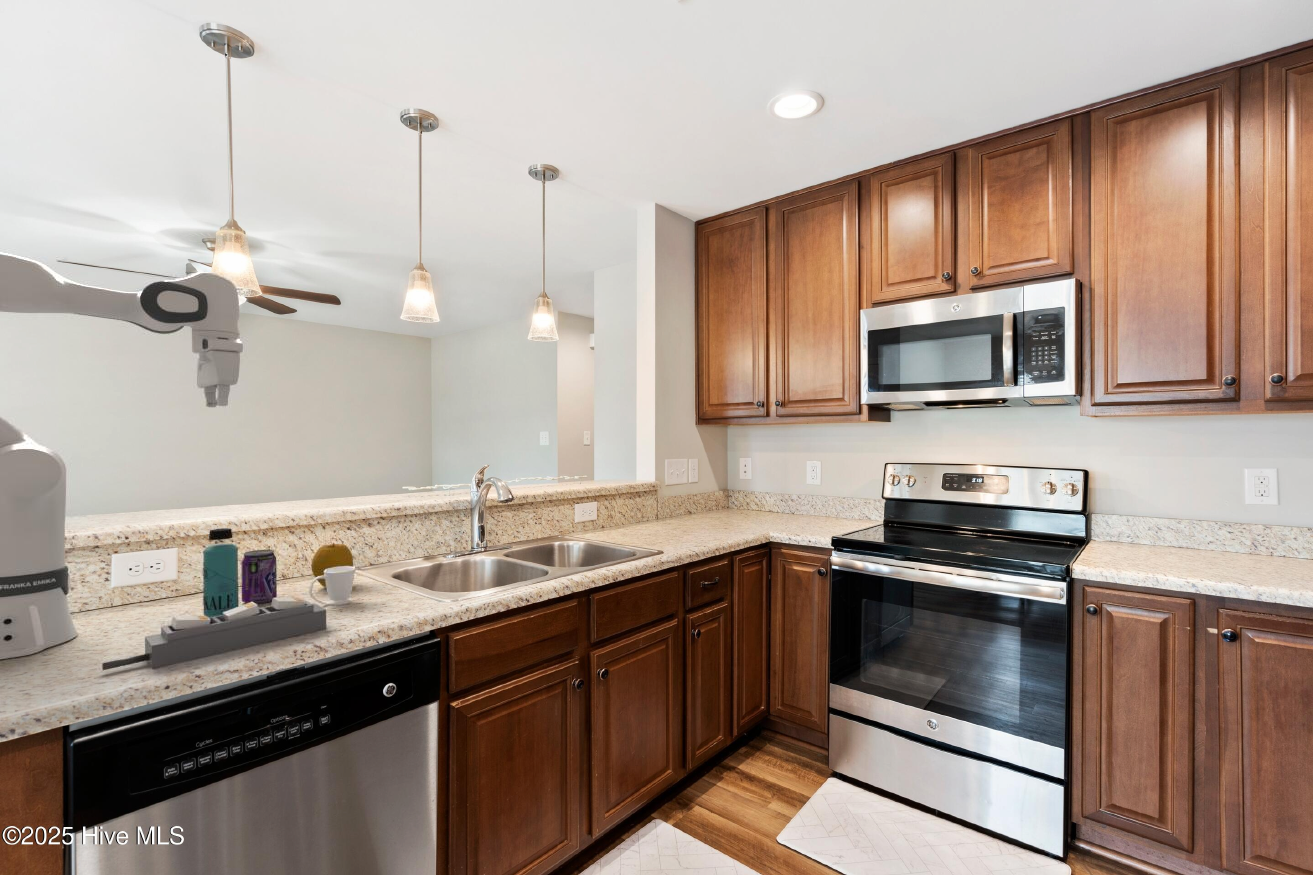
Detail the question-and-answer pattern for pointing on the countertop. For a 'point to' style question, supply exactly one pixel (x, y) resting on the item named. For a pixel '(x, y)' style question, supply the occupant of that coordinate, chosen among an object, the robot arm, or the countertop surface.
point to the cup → (337, 584)
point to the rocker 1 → (189, 621)
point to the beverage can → (259, 576)
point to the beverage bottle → (220, 574)
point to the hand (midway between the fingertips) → (216, 406)
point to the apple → (330, 559)
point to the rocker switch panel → (226, 635)
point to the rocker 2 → (241, 611)
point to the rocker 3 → (287, 603)
